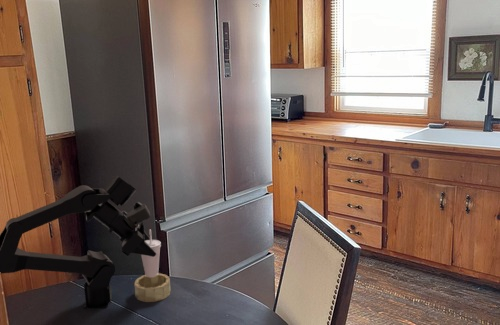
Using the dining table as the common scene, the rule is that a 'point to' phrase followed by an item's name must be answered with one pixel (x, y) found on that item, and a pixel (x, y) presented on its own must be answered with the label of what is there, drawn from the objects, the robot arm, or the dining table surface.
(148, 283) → the collar
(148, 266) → the smoothie
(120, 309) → the dining table surface
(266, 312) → the dining table surface
